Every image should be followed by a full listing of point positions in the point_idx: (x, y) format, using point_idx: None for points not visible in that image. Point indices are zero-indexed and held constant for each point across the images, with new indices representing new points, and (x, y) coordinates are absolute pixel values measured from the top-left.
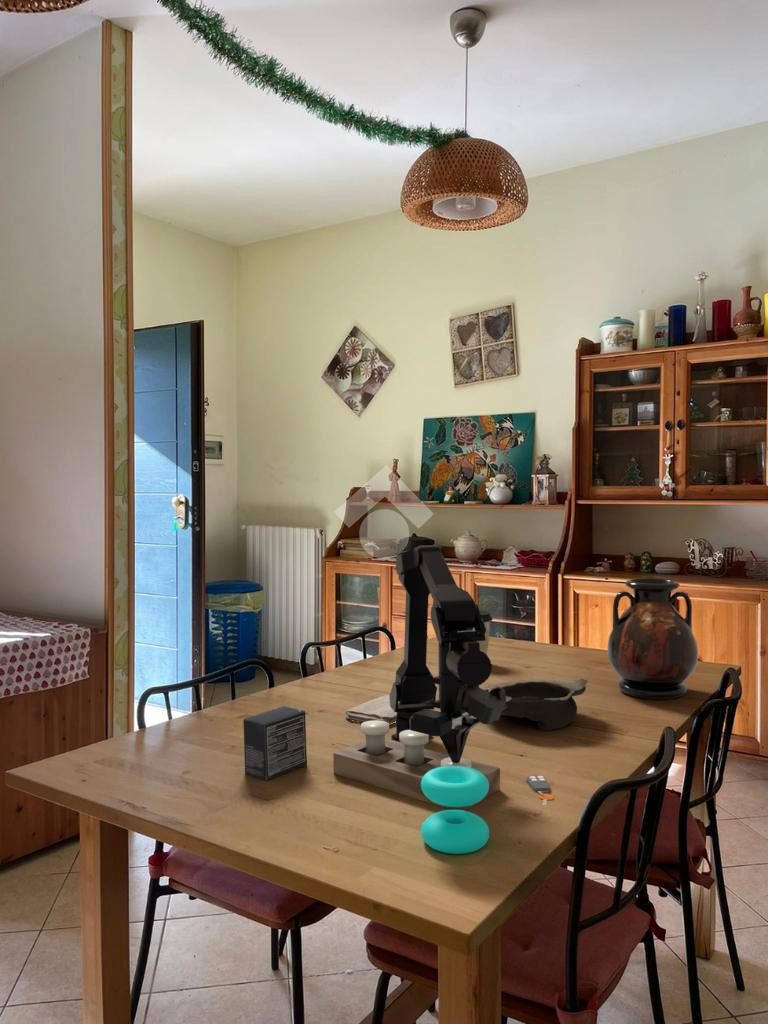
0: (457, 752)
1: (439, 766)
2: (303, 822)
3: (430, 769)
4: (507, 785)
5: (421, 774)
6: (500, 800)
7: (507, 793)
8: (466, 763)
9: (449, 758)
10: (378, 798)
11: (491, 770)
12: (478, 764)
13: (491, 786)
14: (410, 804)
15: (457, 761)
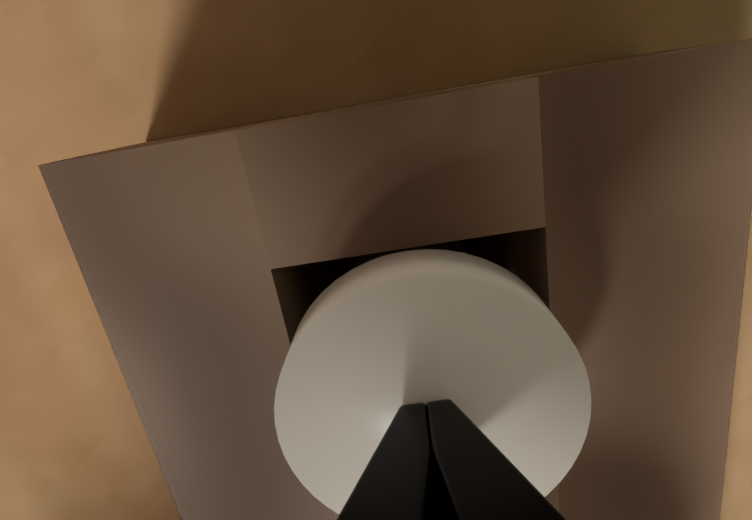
0: (509, 470)
1: None
2: None
3: None
4: (48, 162)
5: (663, 488)
6: (270, 7)
7: (141, 62)
8: (380, 334)
9: None
10: (748, 503)
11: (151, 179)
12: (154, 352)
13: (235, 127)
14: None
15: (454, 404)
